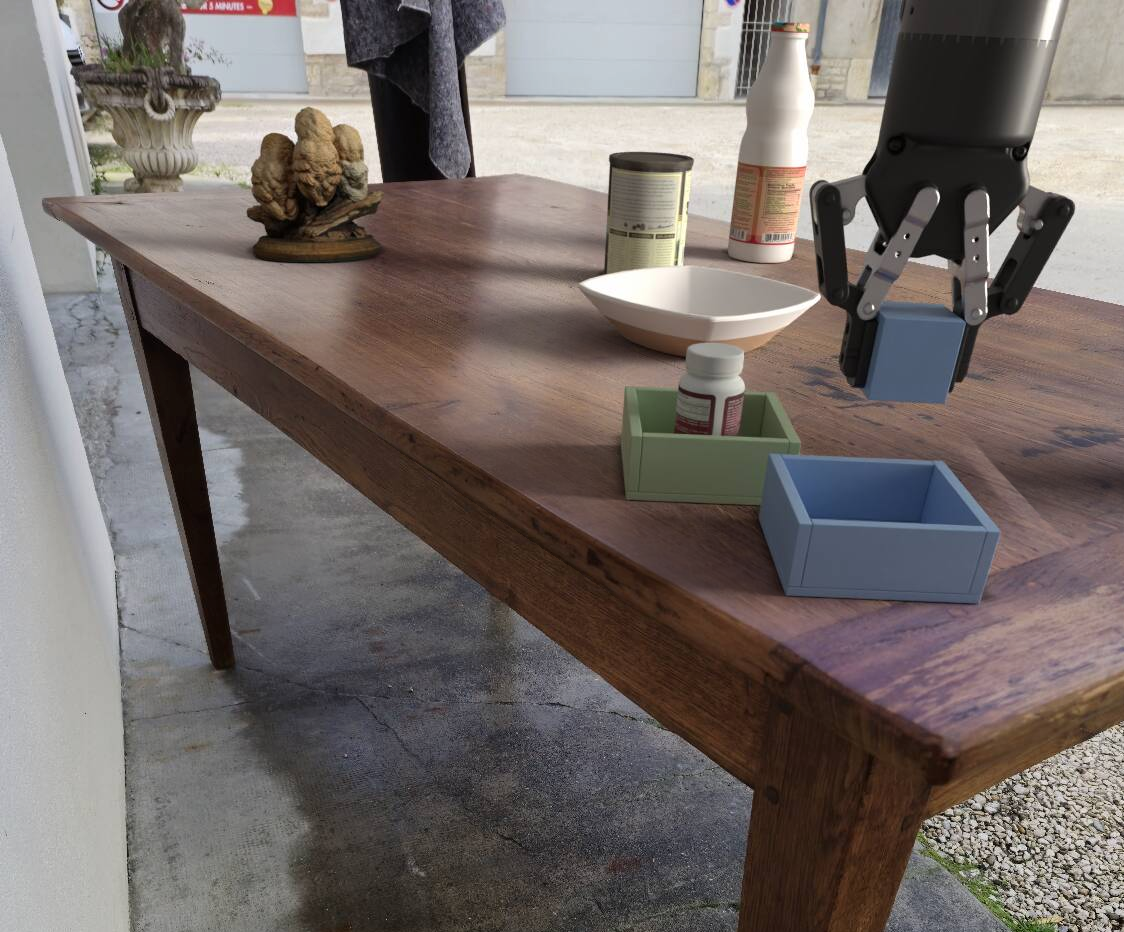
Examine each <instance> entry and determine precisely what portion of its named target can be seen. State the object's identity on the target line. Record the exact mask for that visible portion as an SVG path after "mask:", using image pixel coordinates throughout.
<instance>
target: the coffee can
mask: <svg viewBox="0 0 1124 932" xmlns="http://www.w3.org/2000/svg"><path fill="white" fill-rule="evenodd" d="M608 162H609V169H608V171H609V174H608V189H607V190H608V191H607V211H606V212H607V213H606V230H605V247H604V248H605V250H604V265H603V267H604V269H603V275H606V274H611V273H616V272H621V271H628V270H635V269H643V268H652V267H662V266H681V265H684V259H685V257H684V256H685V246H686V235H687V225H688V214H689V204H690V193H691V182H692V170H693V166H694V163H695V159H694V158H693V157H692V156H688V155H686V154H685V155H684V154H679V153H671V152H655V151H619V152H614V153H611V154H609V156H608Z"/></svg>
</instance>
